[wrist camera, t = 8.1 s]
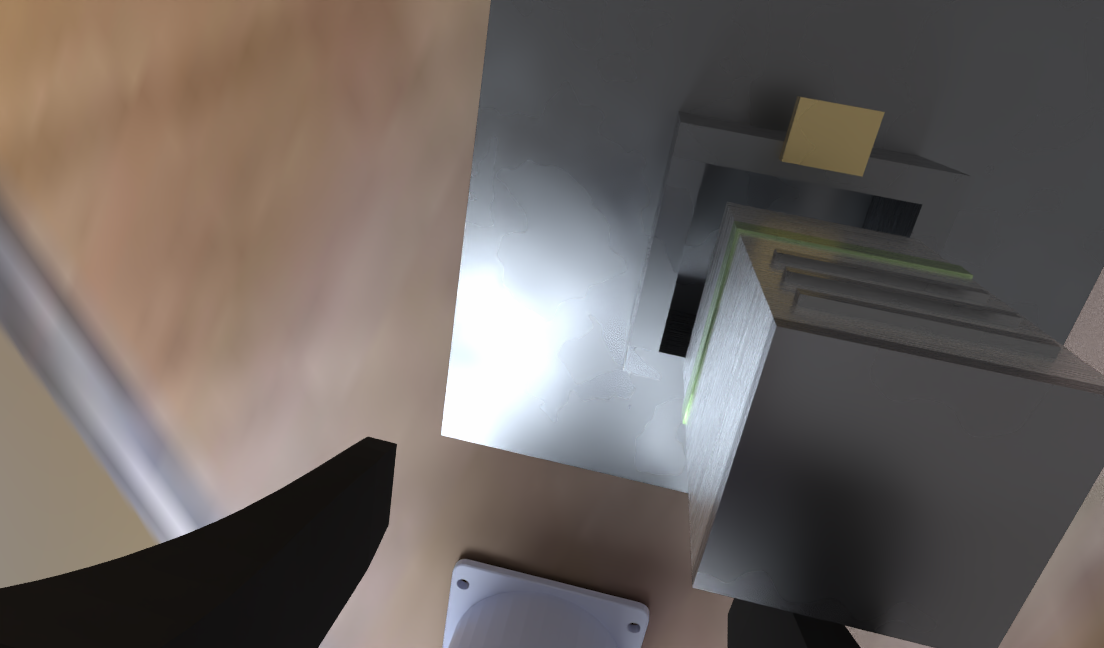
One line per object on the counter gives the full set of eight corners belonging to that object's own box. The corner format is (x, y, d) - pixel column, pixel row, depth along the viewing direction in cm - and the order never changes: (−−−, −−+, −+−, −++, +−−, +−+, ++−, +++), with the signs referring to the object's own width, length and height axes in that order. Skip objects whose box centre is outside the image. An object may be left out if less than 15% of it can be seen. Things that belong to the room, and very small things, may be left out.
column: (854, 404, 16) (991, 664, 9) (680, 367, 16) (687, 589, 9) (921, 232, 14) (1153, 392, 7) (726, 194, 14) (776, 313, 8)
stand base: (944, 536, 23) (1009, 650, 19) (449, 421, 25) (401, 500, 20) (1230, -41, 16) (1442, -78, 12) (517, -150, 18) (466, -219, 13)
